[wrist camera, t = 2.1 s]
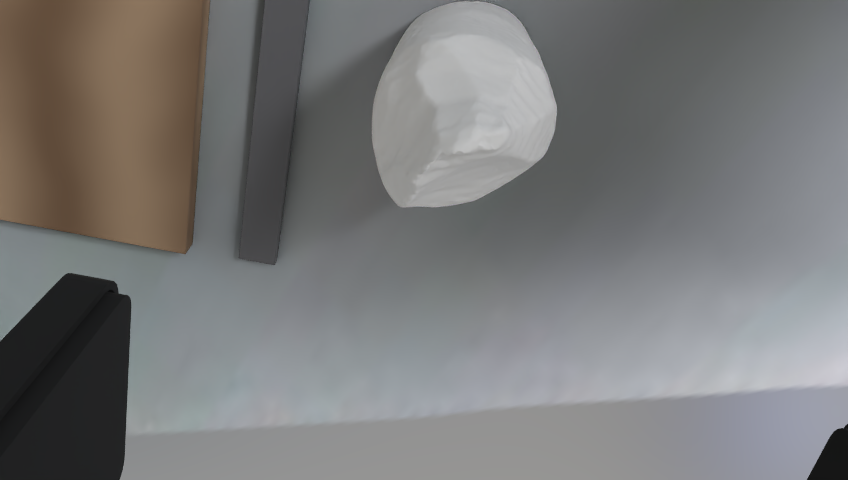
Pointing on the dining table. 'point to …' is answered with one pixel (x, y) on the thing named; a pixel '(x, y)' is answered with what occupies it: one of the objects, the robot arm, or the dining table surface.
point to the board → (103, 117)
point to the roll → (460, 106)
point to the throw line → (273, 127)
